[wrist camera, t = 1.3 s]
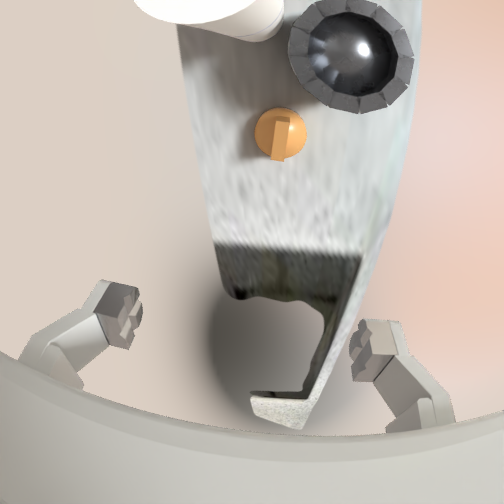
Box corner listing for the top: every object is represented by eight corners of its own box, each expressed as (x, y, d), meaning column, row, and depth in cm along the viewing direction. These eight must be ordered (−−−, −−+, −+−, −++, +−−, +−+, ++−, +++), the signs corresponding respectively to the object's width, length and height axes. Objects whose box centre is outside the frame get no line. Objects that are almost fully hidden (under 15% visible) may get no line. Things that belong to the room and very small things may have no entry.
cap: (258, 104, 34) (254, 111, 30) (309, 111, 34) (312, 120, 30) (253, 149, 39) (249, 163, 35) (301, 156, 38) (303, 170, 35)
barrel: (292, 2, 25) (295, -16, 17) (389, 24, 24) (421, 19, 17) (281, 88, 32) (280, 100, 25) (373, 107, 32) (400, 126, 25)
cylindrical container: (247, 52, 30) (181, 53, 10) (213, 13, 26) (101, -29, 7) (295, 23, 27) (315, -29, 7) (261, -17, 23) (219, -112, 4)
